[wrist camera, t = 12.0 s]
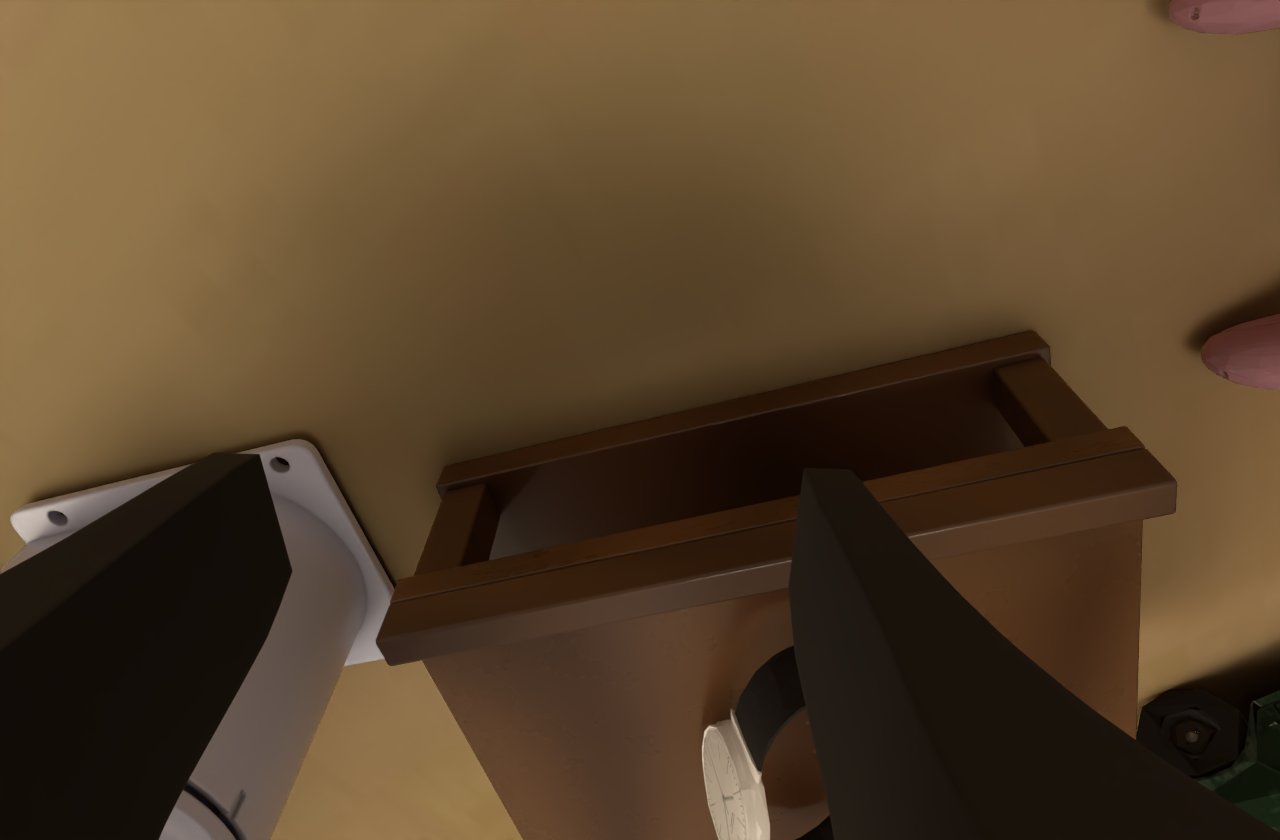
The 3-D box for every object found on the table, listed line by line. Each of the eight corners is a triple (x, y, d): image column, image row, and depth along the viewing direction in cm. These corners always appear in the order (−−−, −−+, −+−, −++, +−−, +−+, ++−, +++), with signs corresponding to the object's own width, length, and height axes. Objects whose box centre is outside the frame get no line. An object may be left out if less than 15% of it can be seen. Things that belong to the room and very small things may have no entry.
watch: (711, 613, 19) (723, 751, 15) (923, 619, 19) (978, 758, 15) (693, 827, 22) (699, 972, 19) (868, 832, 22) (902, 978, 19)
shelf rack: (573, 744, 29) (553, 945, 23) (442, 466, 23) (372, 642, 18) (1049, 661, 27) (1158, 863, 21) (1035, 329, 21) (1179, 480, 15)
